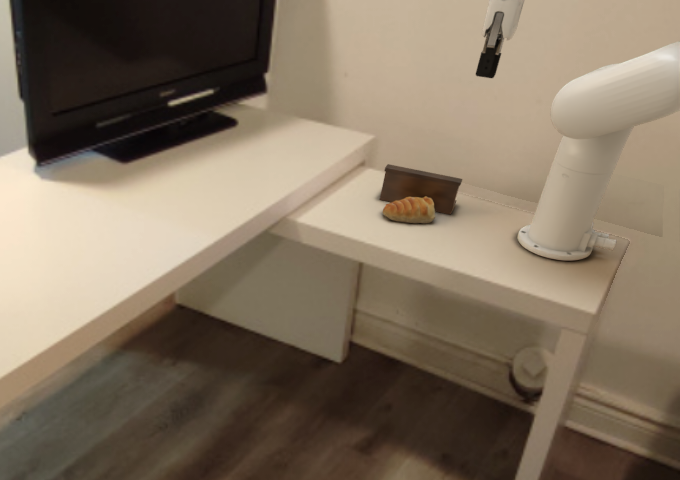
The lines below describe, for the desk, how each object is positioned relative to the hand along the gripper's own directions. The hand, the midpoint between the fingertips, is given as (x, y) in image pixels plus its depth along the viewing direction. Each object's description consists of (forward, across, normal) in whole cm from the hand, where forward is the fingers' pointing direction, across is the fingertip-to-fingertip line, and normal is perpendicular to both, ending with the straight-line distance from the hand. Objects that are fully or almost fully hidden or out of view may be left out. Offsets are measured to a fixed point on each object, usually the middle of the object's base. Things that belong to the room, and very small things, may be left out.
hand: (485, 75), depth 142 cm
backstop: (+25, -2, +6) cm, 26 cm away
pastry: (+25, -9, +6) cm, 28 cm away
